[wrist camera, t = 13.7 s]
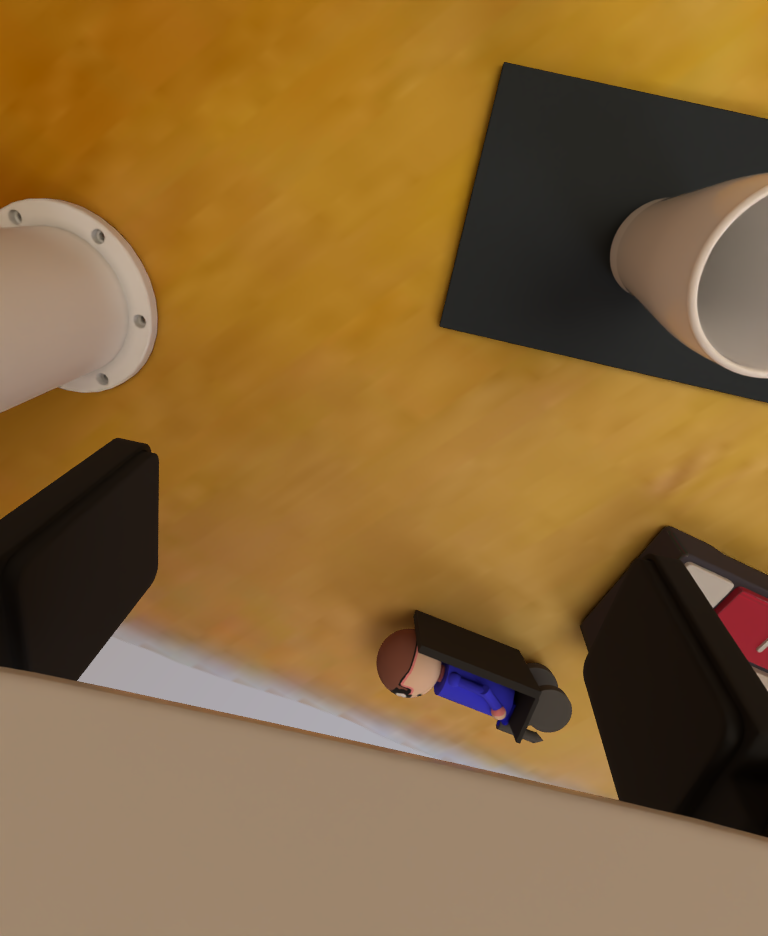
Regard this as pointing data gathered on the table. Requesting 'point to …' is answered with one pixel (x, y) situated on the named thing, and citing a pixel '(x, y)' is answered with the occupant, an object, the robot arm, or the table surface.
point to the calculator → (710, 594)
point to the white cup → (703, 269)
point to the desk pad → (587, 218)
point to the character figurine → (473, 676)
